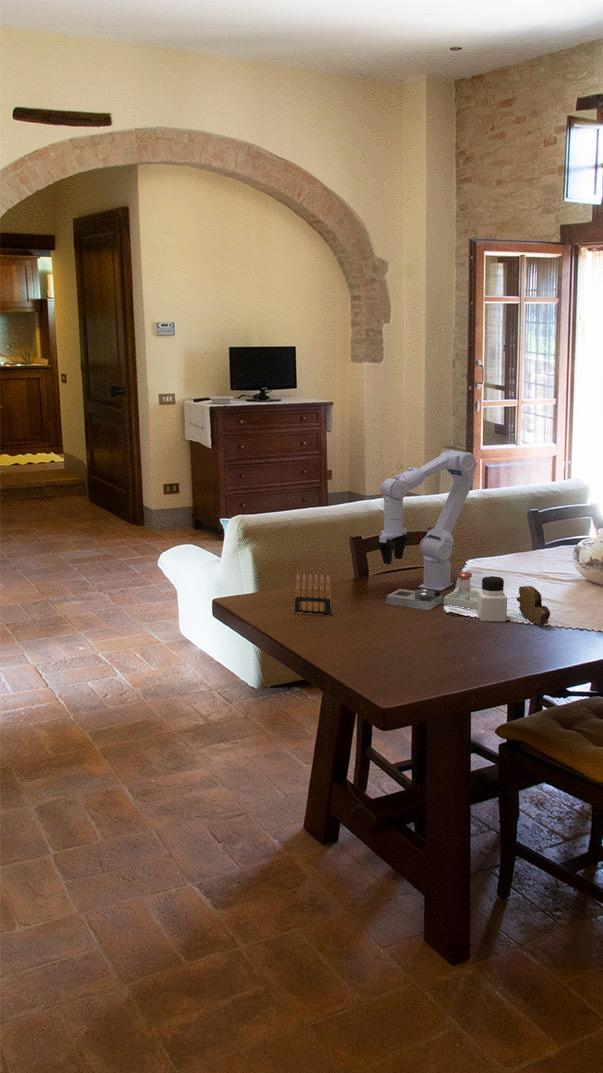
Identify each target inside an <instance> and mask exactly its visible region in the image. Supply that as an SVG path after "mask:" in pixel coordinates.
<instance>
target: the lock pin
mask: <svg viewBox="0 0 603 1073" xmlns="http://www.w3.org/2000/svg"><path fill="white" fill-rule="evenodd" d="M457 577H458V586H457V587H458V599H462V600H469V601H470V591H471V578H472V577H473V573H472V572H469V571H459V572H457Z"/></svg>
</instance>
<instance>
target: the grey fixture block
mask: <svg viewBox="0 0 603 1073" xmlns="http://www.w3.org/2000/svg"><path fill="white" fill-rule="evenodd" d="M385 598H386V603H385V604H386V605H390V606H391V605H394V606H398V607H399V606H400V607H404V608H405V607H406V608H411V609H417V610H424V611H430V610H433V609H434V608H436V607H438V606H439V605H441V604H442V603H443V595H442V593H441V591H439V590H433V589H426V588H419V589H416V590H412V589H411V590H409V589H404V588H403V589H402V588H398V589H396V590H395V591H393V592H391V593H389V594H387V595H386V597H385Z"/></svg>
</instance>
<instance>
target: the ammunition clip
mask: <svg viewBox="0 0 603 1073" xmlns="http://www.w3.org/2000/svg"><path fill="white" fill-rule="evenodd" d="M295 579H296V581H295V598H294V613H295V612H303V613H312V614H323V615H322V616H324V615H330V616H331V615H332V614H333V609H332V608H333V607H332V589H331V578H330V574H327V575H326V580H325V578H324V574H321V575H320V579H319V578H318V574H317V573H316V574H315V576H314V578H313V576H312V574H311V573H309V576H308V578H307V577H306V574H305V573H303V575H302V581H301V576H300V574H299V572H298V573H297V575H296V578H295ZM307 579H308V580H307ZM313 579H314V580H313ZM313 582H314V583H313ZM331 613H332V614H331Z"/></svg>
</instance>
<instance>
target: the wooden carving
mask: <svg viewBox="0 0 603 1073" xmlns="http://www.w3.org/2000/svg"><path fill="white" fill-rule="evenodd" d="M541 594H542V593H541V592H539V590H538V589H536V588H535V587H534V586H532V585H524V586H522V585H521V586H519V588H518V595H519V596H517V597H516V601H517V602H518V603H519V607H518V609H519V611H520V613H521V614H522V617H524V619H526V620H527V619H528V620H529V621H530V622H529V621H528V620H527V621H528V622H529V623H536V624H537V625H538V626H544V625H548V624H549V623H548V622H549V619H550V616H551V612H550V610H549V607H548V606H546V605H543V604H542V595H541Z"/></svg>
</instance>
